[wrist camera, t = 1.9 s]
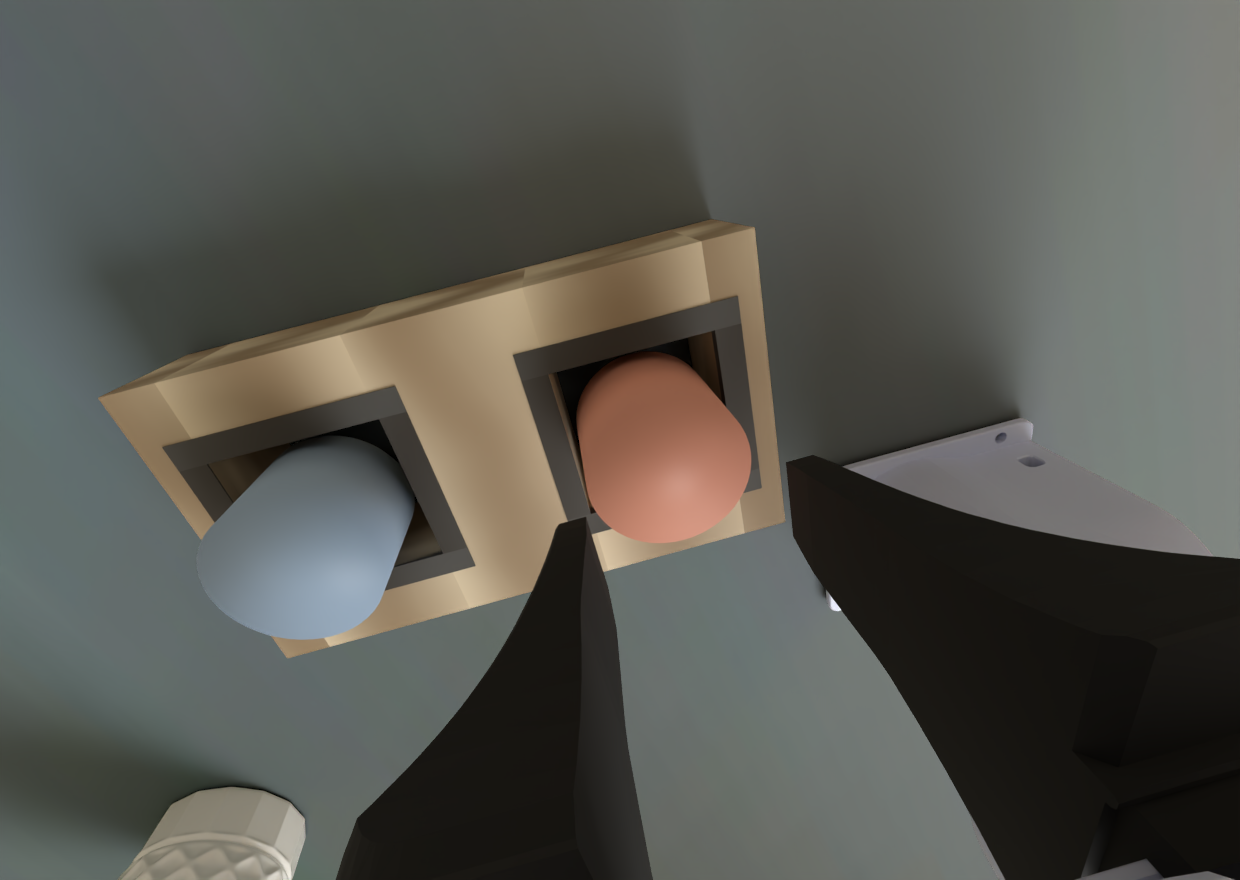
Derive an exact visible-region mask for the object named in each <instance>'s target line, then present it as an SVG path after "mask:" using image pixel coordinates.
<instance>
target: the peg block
mask: <svg viewBox="0 0 1240 880" xmlns="http://www.w3.org/2000/svg"><path fill="white" fill-rule="evenodd" d="M684 338H688V343H689V349H690V354H691V360H692V366H693V369H694V370H695V371H696V372H697V374H698V375H699V376H700V377H701V378H702V380H703V381H704V382H705V383H706V384H707V385H708V387H709V388H710V389H711V390H712V391H713V392H714V394H715V395H716V396H717V397H718V398H719V400H720V401H721V402H722V403H723V404H724V405H725V407H726V408H727V409H728V410H729V411H730V413H731V414H732V415H733V416H734V417H735V419H736V420H737V421H738V422H739V424H740V425H741V426H742V428H743V430H744V432H745V434H746V436H747V439H748V441H749V445H750V450H751V471H750V476H749V480H748V483H747V485H746V488H745V490H744V492H743V494H742V496H741V498H740V500H739V501H738V502H737V504H736V505H735V507H734V508H733V509H732V510H731V511H730V513H729V514H728V515H727V516H726V517H724V518H723V519H722V520H721V521H720V522H719V523H717V524H716V525H715V526H713V527H712V528H710V529H708V530H707V531H705V532H703V533H701V534H699V535H696V536H694V537H691V538H688V539H685V540H681V541H677V542H670V543H648V542H642V541H638V540H634V539H631V538H628V537H626V536H624V535H622V534H620V533H618V532H616V531H615V530H613V529H612V528H611V527H609V526H608V525H607V524H606V523H605V522H604V521H603V520H602V519H601V518H600V517H599V515H598V514H597V513H596V511H595V509H594V508H593V506H592V504H591V501H590V499H589V496H588V492H587V487H586V481H585V475H584V468H583V462H582V457H581V453H580V450H579V447H578V443H577V440H576V436H575V433H574V430H573V426H572V423H571V420H570V416H569V413H568V409H567V406H566V403H565V399H564V396H563V393H562V389H561V386H560V383H559V379H558V376H557V372H559V371H563V370H567V369H570V368H574V367H578V366H582V365H585V364H589V363H593V362H597V361H601V360H604V359H608V358H612V357H616V356H620V355H623V354H627V353H631V352H635V351H638V350H642V349H646V348H650V347H654V346H657V345H661V344H665V343H669V342H673V341H676V340H680V339H684ZM98 399H99V400H100V401H101V403H102V404H103V405H104V407H105V408H106V410H107V411H108V412H109V414H110V415H111V416H112V418H113V419H114V421H115V422H116V423H117V425H118V426H119V427H120V429H121V430H122V432H123V433H124V434H125V436H126V437H127V438H128V440H129V441H130V443H131V444H132V445H133V447H134V448H135V449H136V451H137V452H138V454H139V455H140V456H141V458H142V459H143V460H144V462H145V463H146V465H147V466H148V467H149V469H150V470H151V471H152V473H153V474H154V476H155V477H156V478H157V480H158V481H159V482H160V484H161V485H162V487H163V488H164V489H165V491H166V492H167V493H168V495H169V496H170V498H171V499H172V500H173V502H174V503H175V504H176V506H177V507H178V509H179V510H180V511H181V513H182V514H183V515H184V517H185V518H186V520H187V521H188V522H189V524H190V525H191V526H192V528H193V529H194V531H195V532H196V533H197V535H198V536H199V537H200V539H201V540H202V539H203V537H204V535H205V534H206V532H207V531H208V530H209V528H210V527H211V526H212V525H213V524H214V523H215V522H216V521H217V520H218V519H219V518H220V517H221V516H222V515H223V514H224V513H225V512H226V511H227V509H228V508H229V507H230V506H231V505H232V504H233V503H234V502H235V501H236V500H237V499H238V498H239V497H240V496H241V495H242V494H243V493H244V492H245V491H246V490H247V489H248V488H249V487H250V486H251V484H252V483H253V482H254V481H255V480H256V479H257V478H258V477H259V476H260V475H261V474H262V473H263V472H264V471H265V470H266V469H267V468H268V467H269V466H270V465H271V464H272V463H273V462H274V461H275V459H276V458H277V457H278V456H279V455H280V454H282V453H283V452H284V451H285V450H286V449H288V448H289V447H291V445H290V442H294V441H298V440H301V439H305V438H309V437H313V436H316V435H320V434H324V433H328V432H332V431H335V430H339V429H343V428H347V427H351V426H354V425H358V424H362V423H366V422H370V421H373V420H377V419H379V420H380V422H381V424H382V426H383V429H384V431H385V433H386V435H387V437H388V439H389V441H390V443H391V445H392V447H393V449H394V452H395V454H396V456H397V458H398V460H399V462H400V464H401V466H402V468H403V470H404V473H405V475H406V477H407V479H408V481H409V483H410V485H411V487H412V489H413V491H414V494H415V496H416V498H417V500H418V502H416V503H415V508H414V513H413V517H412V520H411V522H410V525H409V527H408V530H407V533H406V535H405V538H404V541H403V543H402V546H401V549H400V551H399V554H398V556H397V559H396V562H395V564H394V567H393V570H392V572H391V575H390V578H389V580H388V583H387V585H386V588H385V591H384V593H383V596H382V598H381V600H380V603H379V604H378V606H377V607H376V609H375V610H374V612H373V613H372V614H371V615H370V616H369V617H368V618H367V619H366V620H364V621H363V622H362V623H360V624H359V625H357V626H356V627H354V628H352V629H350V630H348V631H346V632H343V633H340V634H337V635H334V636H330V637H326V638H319V639H307V640H298V639H286V638H280V637H275V636H272V638H273V639H274V641H275V642H276V643H277V645H278V646H279V647H280V649H281V650H282V652H283V653H284V654H285V656H286V657H287V658H291V657H294V656H298V655H302V654H305V653H309V652H312V651H316V650H320V649H323V648H327V647H331V646H334V645H338V644H342V643H345V642H349V641H353V640H356V639H360V638H364V637H367V636H371V635H375V634H378V633H382V632H385V631H389V630H393V629H396V628H400V627H404V626H407V625H411V624H415V623H418V622H422V621H426V620H429V619H433V618H437V617H440V616H444V615H448V614H451V613H455V612H458V611H462V610H466V609H469V608H473V607H477V606H480V605H484V604H488V603H491V602H495V601H499V600H502V599H506V598H510V597H513V596H517V595H521V594H524V593H528V592H531V591H532V590H533V588H534V586H535V583H536V581H537V579H538V576H539V574H540V572H541V569H542V567H543V564H544V562H545V559H546V556H547V554H548V551H549V548H550V545H551V542H552V539H553V536H554V533H555V529H556V528H557V526H558V525H559V524H561V523H564V522H568V521H572V520H575V519H579V518H583V517H586V518H587V521H588V525H589V528H590V531H591V534H592V537H593V541H594V544H595V547H596V550H597V554H598V557H599V560H600V563H601V566H602V570H603V572H604V571H608V570H612V569H615V568H619V567H623V566H626V565H630V564H634V563H637V562H641V561H645V560H648V559H652V558H656V557H659V556H663V555H666V554H670V553H674V552H677V551H681V550H685V549H688V548H692V547H696V546H699V545H703V544H707V543H710V542H714V541H718V540H721V539H725V538H729V537H732V536H736V535H739V534H743V533H747V532H750V531H754V530H758V529H761V528H765V527H769V526H772V525H776V524H780V523H783V522H785V515H784V505H783V496H782V486H781V476H780V467H779V457H778V448H777V438H776V428H775V419H774V409H773V400H772V390H771V380H770V371H769V361H768V351H767V342H766V332H765V323H764V313H763V303H762V294H761V284H760V275H759V265H758V255H757V246H756V236H755V227H750V226H744V225H739V224H734V223H729V222H724V221H718V220H713V219H711V220H707V221H703V222H699V223H695V224H691V225H687V226H684V227H680V228H676V229H672V230H668V231H664V232H660V233H657V234H653V235H649V236H645V237H641V238H637V239H633V240H629V241H626V242H622V243H618V244H614V245H610V246H606V247H602V248H599V249H595V250H591V251H587V252H583V253H579V254H575V255H571V256H568V257H564V258H560V259H556V260H552V261H548V262H544V263H541V264H537V265H533V266H529V267H525V268H521V269H517V270H513V271H510V272H506V273H502V274H498V275H494V276H490V277H486V278H483V279H479V280H475V281H471V282H467V283H463V284H459V285H455V286H452V287H448V288H444V289H440V290H436V291H432V292H428V293H425V294H421V295H417V296H413V297H409V298H405V299H401V300H397V301H394V302H390V303H386V304H382V305H378V306H374V307H370V308H367V309H363V310H359V311H355V312H351V313H347V314H343V315H339V316H336V317H332V318H328V319H324V320H320V321H316V322H312V323H309V324H305V325H301V326H297V327H293V328H289V329H285V330H281V331H278V332H274V333H270V334H266V335H262V336H258V337H254V338H251V339H247V340H243V341H239V342H235V343H231V344H227V345H223V346H220V347H216V348H212V349H208V350H204V351H200V352H196V353H193V354H189V355H186V356H184V357H182V358H180V359H178V360H176V361H173V362H171V363H169V364H167V365H165V366H163V367H161V368H159V369H157V370H155V371H153V372H151V373H149V374H146V375H144V376H142V377H140V378H138V379H136V380H134V381H132V382H130V383H128V384H126V385H124V386H122V387H120V388H117V389H115V390H113V391H111V392H109V393H107V394H105V395H103V396H101V397H99V398H98Z"/></svg>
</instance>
